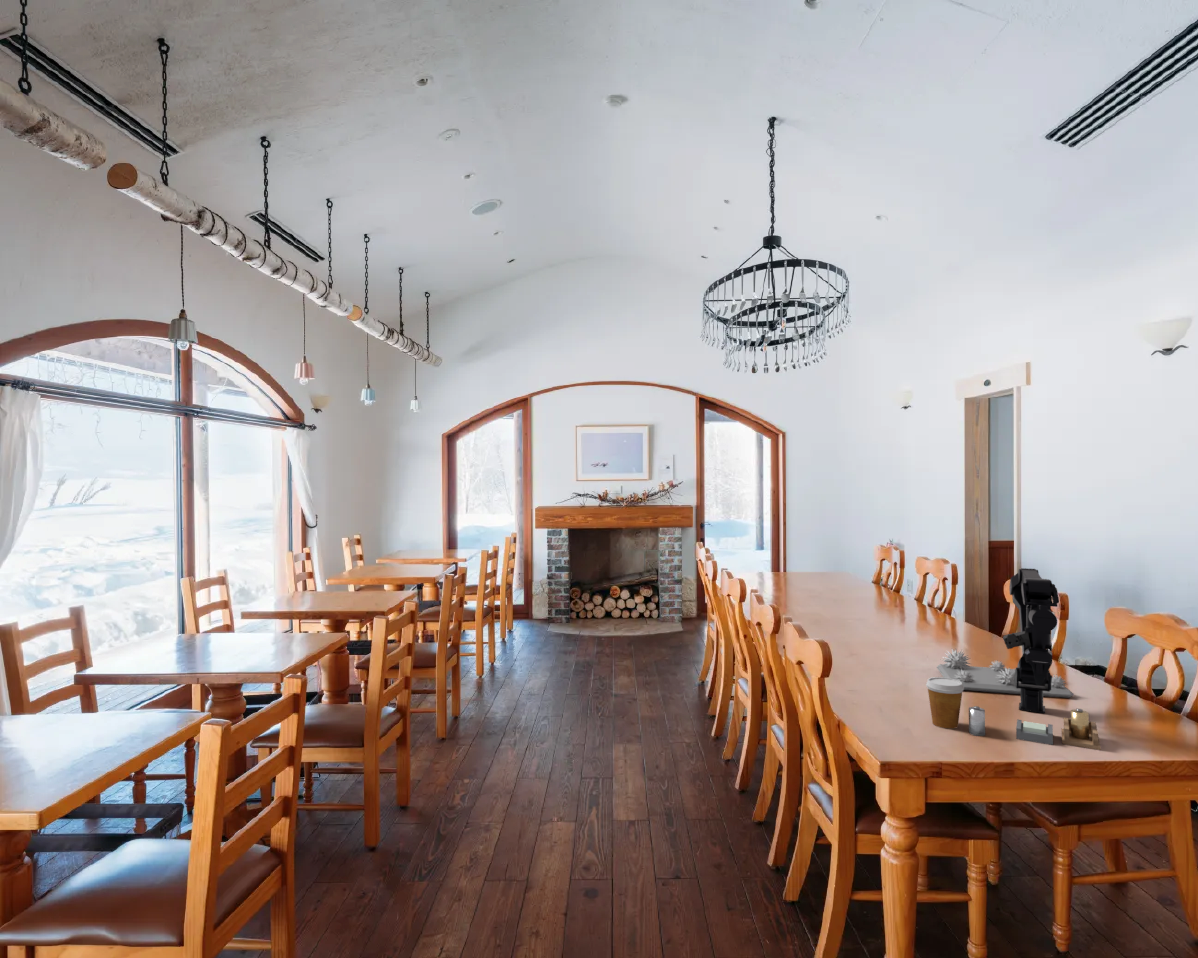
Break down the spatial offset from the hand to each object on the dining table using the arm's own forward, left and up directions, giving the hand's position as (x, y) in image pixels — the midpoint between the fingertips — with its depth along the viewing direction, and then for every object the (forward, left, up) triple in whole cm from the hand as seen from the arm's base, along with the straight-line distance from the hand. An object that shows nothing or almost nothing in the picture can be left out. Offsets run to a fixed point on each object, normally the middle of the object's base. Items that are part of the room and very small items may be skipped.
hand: (1039, 680), depth 192 cm
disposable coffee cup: (+14, -22, -12) cm, 29 cm away
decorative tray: (-39, -11, -13) cm, 43 cm away
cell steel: (+17, -14, -12) cm, 25 cm away
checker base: (+12, -1, -12) cm, 17 cm away
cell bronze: (+9, +9, -11) cm, 17 cm away
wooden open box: (+9, +9, -12) cm, 17 cm away
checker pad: (+12, -1, -10) cm, 16 cm away
